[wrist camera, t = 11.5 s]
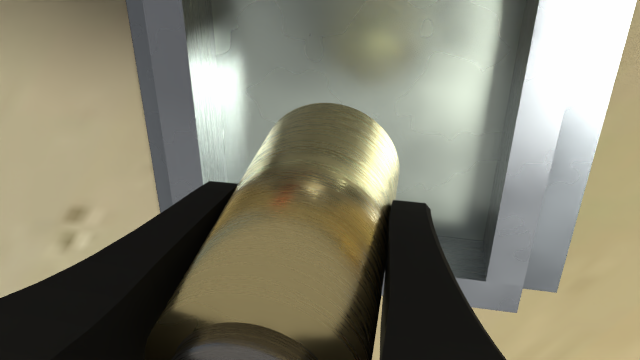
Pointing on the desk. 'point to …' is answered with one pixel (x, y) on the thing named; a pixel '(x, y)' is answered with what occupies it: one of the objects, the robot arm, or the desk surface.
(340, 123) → the cylinder
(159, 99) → the crank bench
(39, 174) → the desk surface
